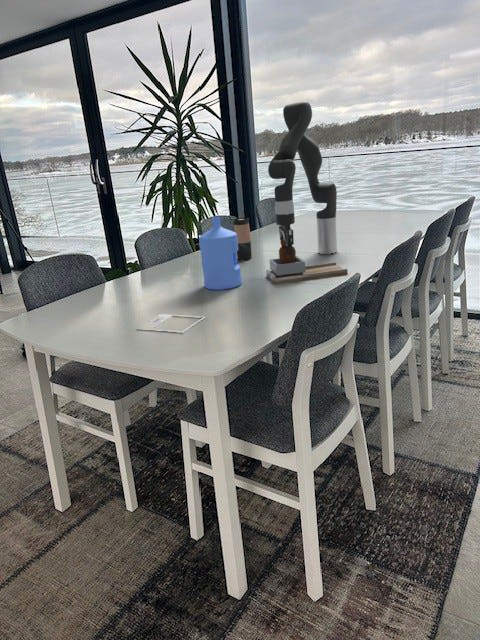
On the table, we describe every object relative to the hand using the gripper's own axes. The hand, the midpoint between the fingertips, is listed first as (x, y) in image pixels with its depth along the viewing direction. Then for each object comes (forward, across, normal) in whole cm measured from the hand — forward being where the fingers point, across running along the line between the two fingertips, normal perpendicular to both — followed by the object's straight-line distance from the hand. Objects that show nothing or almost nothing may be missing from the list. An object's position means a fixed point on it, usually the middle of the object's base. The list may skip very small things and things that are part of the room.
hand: (287, 252), depth 205 cm
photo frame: (+11, +38, -50) cm, 64 cm away
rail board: (+11, 0, +7) cm, 13 cm away
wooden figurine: (+5, 0, 0) cm, 5 cm away
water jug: (+11, -2, -28) cm, 30 cm away
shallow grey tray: (+9, 0, 0) cm, 9 cm away
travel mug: (+11, -47, -11) cm, 49 cm away
